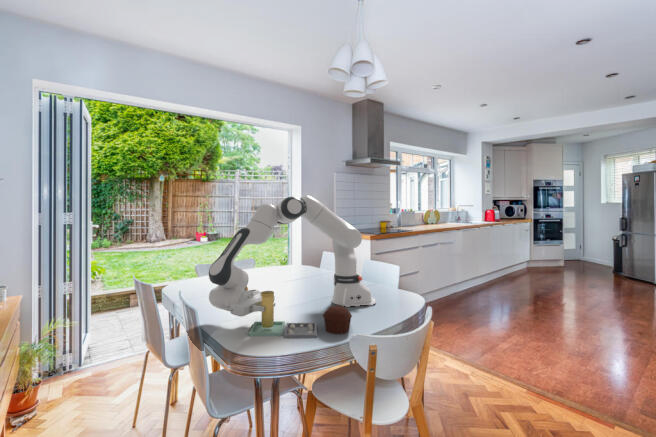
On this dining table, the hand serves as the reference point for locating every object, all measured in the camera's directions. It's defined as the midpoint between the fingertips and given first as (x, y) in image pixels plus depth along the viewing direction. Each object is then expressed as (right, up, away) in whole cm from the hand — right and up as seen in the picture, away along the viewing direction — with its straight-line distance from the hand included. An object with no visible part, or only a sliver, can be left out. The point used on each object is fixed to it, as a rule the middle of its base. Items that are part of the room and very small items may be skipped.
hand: (269, 306), depth 125 cm
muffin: (+26, -10, +1) cm, 28 cm away
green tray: (-1, -10, +1) cm, 10 cm away
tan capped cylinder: (-1, -7, +1) cm, 8 cm away
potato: (-27, -8, +47) cm, 54 cm away
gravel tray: (+12, -10, -1) cm, 16 cm away
